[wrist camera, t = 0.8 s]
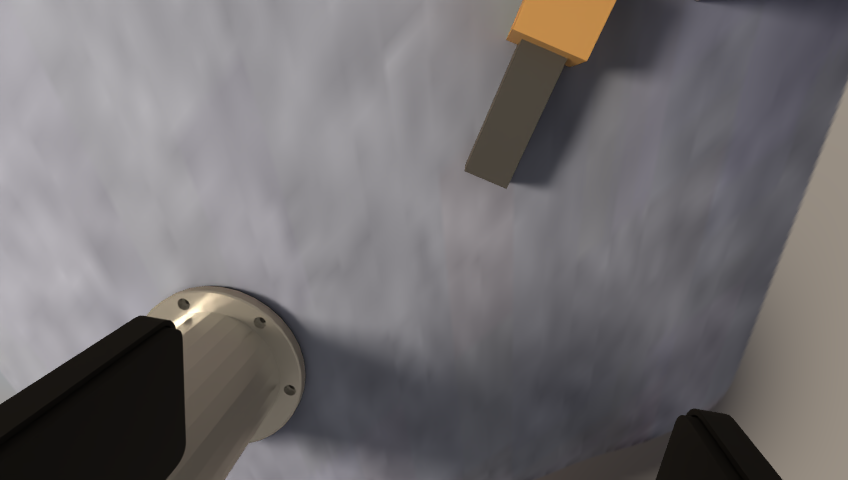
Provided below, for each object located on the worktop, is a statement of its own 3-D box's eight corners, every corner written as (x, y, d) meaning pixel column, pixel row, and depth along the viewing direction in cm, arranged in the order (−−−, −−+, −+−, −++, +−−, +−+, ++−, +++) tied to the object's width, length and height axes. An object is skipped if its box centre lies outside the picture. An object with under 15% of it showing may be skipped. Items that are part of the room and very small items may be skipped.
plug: (513, 185, 29) (520, 199, 25) (454, 160, 29) (452, 170, 25) (603, -5, 26) (627, -24, 22) (537, -34, 26) (549, -58, 22)
